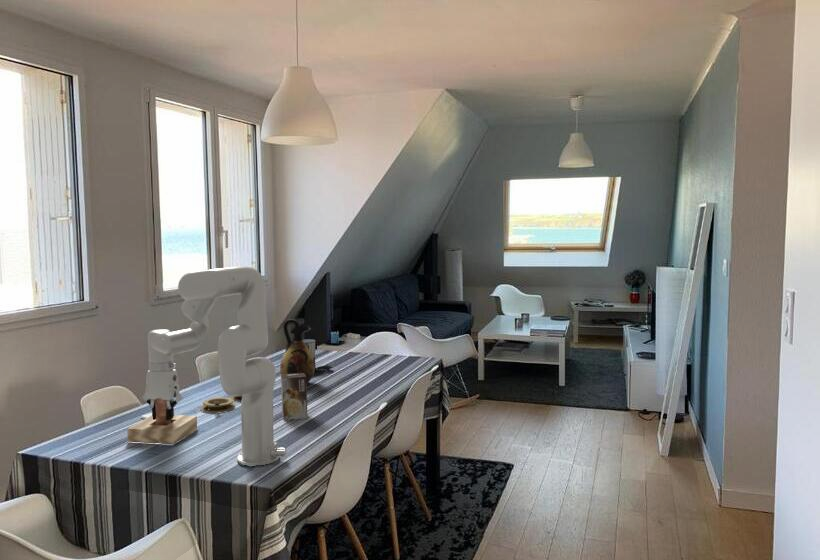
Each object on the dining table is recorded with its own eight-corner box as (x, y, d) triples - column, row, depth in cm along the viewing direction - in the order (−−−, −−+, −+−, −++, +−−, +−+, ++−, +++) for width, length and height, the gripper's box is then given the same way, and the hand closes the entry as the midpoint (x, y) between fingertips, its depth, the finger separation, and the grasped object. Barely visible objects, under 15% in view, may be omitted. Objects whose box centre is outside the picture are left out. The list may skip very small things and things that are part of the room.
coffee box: (306, 413, 232) (305, 372, 230) (307, 418, 226) (307, 376, 224) (281, 415, 229) (280, 374, 228) (282, 420, 223) (281, 378, 222)
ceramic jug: (318, 381, 280) (318, 317, 277) (310, 390, 265) (309, 322, 262) (283, 380, 282) (281, 316, 279) (272, 389, 266) (271, 321, 264)
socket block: (197, 429, 213) (196, 415, 213) (172, 446, 198) (172, 431, 197) (155, 427, 216) (154, 413, 215) (127, 443, 200) (127, 428, 200)
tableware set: (224, 418, 228) (224, 403, 228) (186, 411, 237) (186, 396, 237) (275, 398, 255) (275, 384, 254) (240, 392, 264) (239, 379, 263)
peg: (173, 429, 208) (172, 395, 207) (166, 433, 204) (164, 398, 203) (161, 428, 209) (159, 394, 208) (153, 432, 205) (152, 398, 204)
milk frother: (295, 368, 304) (295, 339, 302) (326, 366, 310) (325, 337, 309) (301, 375, 291) (301, 344, 289) (333, 372, 297) (333, 342, 295)
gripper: (190, 364, 207) (191, 416, 208) (144, 362, 209) (146, 414, 211) (178, 369, 199) (180, 423, 201) (131, 367, 202) (133, 421, 204)
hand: (163, 418), depth 206 cm, fingers closed on peg, 4 cm apart
